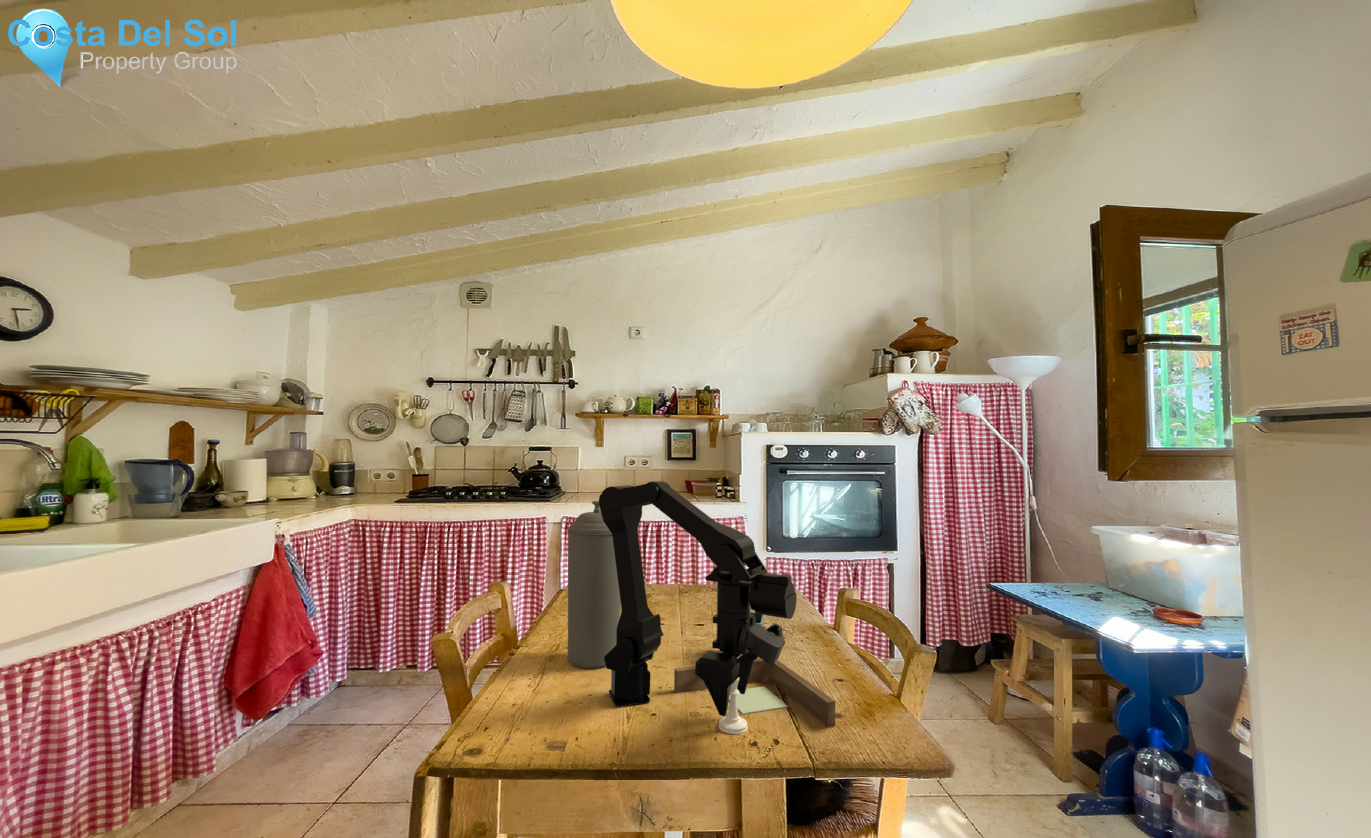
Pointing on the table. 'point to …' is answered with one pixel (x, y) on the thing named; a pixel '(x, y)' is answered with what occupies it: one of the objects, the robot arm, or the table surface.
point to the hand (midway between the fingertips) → (732, 704)
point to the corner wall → (779, 676)
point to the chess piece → (733, 715)
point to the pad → (758, 701)
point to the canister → (591, 591)
